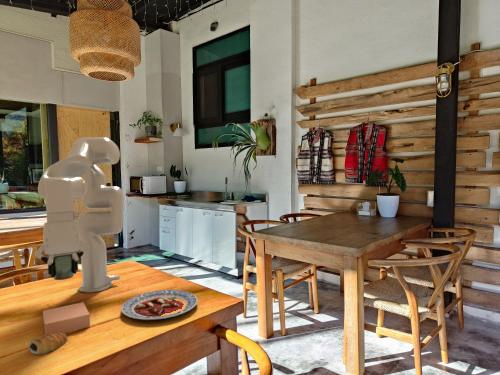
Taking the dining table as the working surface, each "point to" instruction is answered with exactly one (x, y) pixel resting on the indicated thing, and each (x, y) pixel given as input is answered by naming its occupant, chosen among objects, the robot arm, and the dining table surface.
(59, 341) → the pastry
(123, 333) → the dining table surface
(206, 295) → the dining table surface
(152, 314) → the ceramic plate
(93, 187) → the robot arm
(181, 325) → the dining table surface
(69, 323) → the terracotta stand
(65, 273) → the tea tin
